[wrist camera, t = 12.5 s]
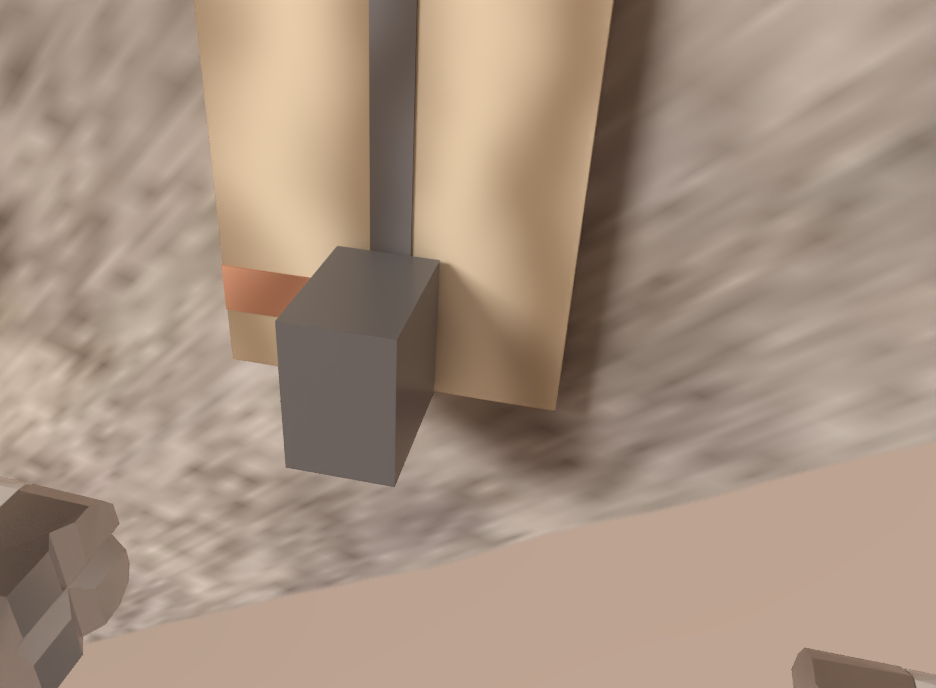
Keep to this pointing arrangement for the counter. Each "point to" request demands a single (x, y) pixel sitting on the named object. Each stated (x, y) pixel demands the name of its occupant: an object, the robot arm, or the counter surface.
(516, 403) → the fader panel
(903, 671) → the robot arm
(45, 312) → the counter surface
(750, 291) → the counter surface
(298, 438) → the fader
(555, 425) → the counter surface
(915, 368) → the counter surface
